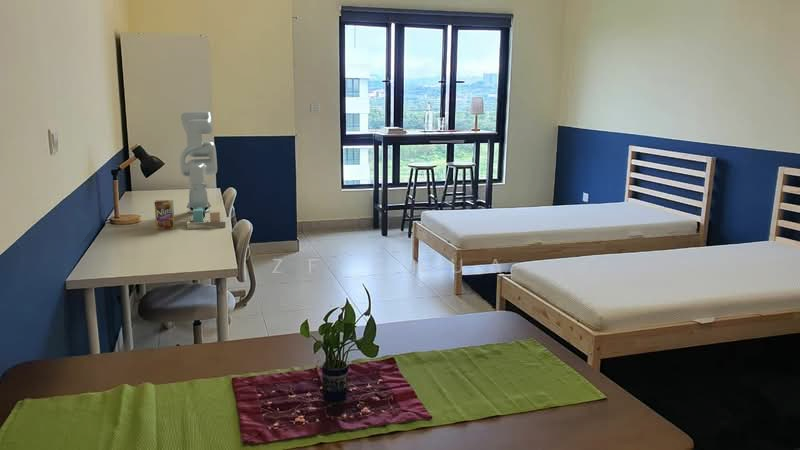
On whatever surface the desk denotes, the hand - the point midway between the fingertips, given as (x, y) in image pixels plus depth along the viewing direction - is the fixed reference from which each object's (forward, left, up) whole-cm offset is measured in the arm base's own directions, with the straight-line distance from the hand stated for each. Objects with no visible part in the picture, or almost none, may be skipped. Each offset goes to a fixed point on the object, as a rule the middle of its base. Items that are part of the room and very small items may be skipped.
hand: (199, 218), depth 353 cm
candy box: (+19, -16, -1) cm, 25 cm away
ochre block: (+19, +9, -1) cm, 21 cm away
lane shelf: (+18, +5, -1) cm, 19 cm away
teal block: (+6, 0, -1) cm, 6 cm away
